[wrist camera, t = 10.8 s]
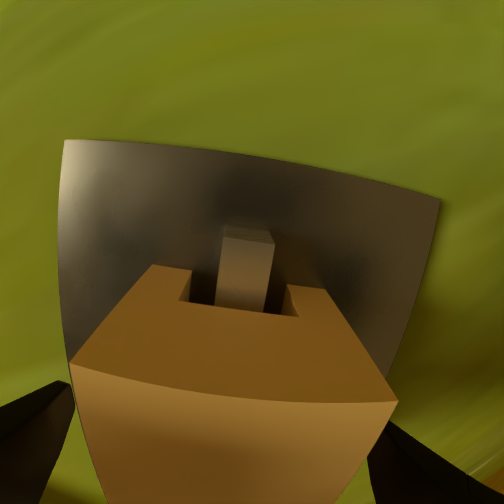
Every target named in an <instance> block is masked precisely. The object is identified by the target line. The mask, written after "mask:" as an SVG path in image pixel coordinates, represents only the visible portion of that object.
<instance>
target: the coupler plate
mask: <svg viewBox="0 0 504 504" xmlns="http://www.w3.org/2000/svg"><path fill="white" fill-rule="evenodd" d="M440 200H441V199H438V198H435V197H432V196H428V195H425V194H421V193H418V192H415V191H411V190H407V189H404V188H400V187H397V186H393V185H389V184H385V183H381V182H377V181H373V180H369V179H365V178H361V177H357V176H353V175H348V174H344V173H340V172H335V171H330V170H326V169H321V168H316V167H311V166H306V165H301V164H296V163H291V162H285V161H280V160H274V159H268V158H262V157H256V156H250V155H243V154H236V153H229V152H222V151H215V150H207V149H198V148H190V147H180V146H171V145H160V144H148V143H135V142H119V141H98V140H65V143H64V150H63V159H62V168H61V178H60V190H59V207H58V277H59V294H60V306H61V317H62V326H63V334H64V342H65V348H66V355H67V361H68V367H69V372H70V378H71V383H72V388H73V392H74V387H73V382H72V377H71V371H70V365H69V362H70V361H71V360H72V359H73V357H74V356H75V355H76V354H77V352H78V351H79V350H80V349H81V347H82V346H83V345H84V344H85V342H86V341H87V340H88V339H89V337H90V336H91V335H92V334H93V333H94V331H95V330H96V329H97V328H98V326H99V325H100V324H101V323H102V322H103V320H104V319H105V318H106V317H107V316H108V315H109V313H110V312H111V311H112V310H113V309H114V307H115V306H116V305H117V304H118V303H119V302H120V300H121V299H122V298H123V297H124V296H125V295H126V294H127V292H128V291H129V290H130V289H131V288H132V287H133V286H134V284H135V283H136V282H137V281H138V280H139V279H140V278H141V277H142V275H143V274H144V273H145V272H146V271H147V270H148V269H149V268H150V266H151V265H152V264H154V265H160V266H166V267H172V268H179V269H185V270H191V271H192V275H191V284H190V294H189V302H190V303H196V304H203V305H209V306H216V307H223V308H230V309H237V310H244V311H252V312H260V313H268V314H276V315H280V314H281V309H282V305H283V300H284V295H285V291H286V286H287V284H288V285H296V286H303V287H311V288H319V289H325V290H326V291H327V293H328V294H329V296H330V297H331V299H332V300H333V302H334V303H335V304H336V306H337V307H338V309H339V310H340V312H341V313H342V315H343V316H344V318H345V319H346V321H347V322H348V324H349V325H350V327H351V328H352V330H353V331H354V333H355V334H356V336H357V337H358V339H359V340H360V342H361V343H362V345H363V346H364V348H365V349H366V351H367V352H368V354H369V355H370V357H371V358H372V360H373V362H374V363H375V365H376V366H377V368H378V369H379V371H380V372H381V374H382V375H383V377H384V379H386V377H387V375H388V372H389V370H390V368H391V365H392V363H393V361H394V358H395V356H396V353H397V351H398V348H399V345H400V343H401V340H402V337H403V335H404V332H405V329H406V327H407V324H408V321H409V318H410V315H411V312H412V309H413V306H414V303H415V300H416V297H417V294H418V290H419V287H420V284H421V280H422V277H423V273H424V270H425V266H426V262H427V259H428V255H429V251H430V247H431V243H432V238H433V234H434V230H435V225H436V220H437V216H438V211H439V205H440ZM74 397H75V392H74ZM75 401H76V397H75ZM76 406H77V401H76ZM77 410H78V406H77ZM78 414H79V410H78ZM79 418H80V414H79ZM80 422H81V418H80ZM81 425H82V422H81ZM82 429H83V426H82ZM83 433H84V430H83ZM84 436H85V433H84ZM85 440H86V437H85ZM86 443H87V440H86ZM87 446H88V444H87ZM88 449H89V447H88ZM89 453H90V450H89ZM90 456H91V454H90ZM91 459H92V457H91ZM92 462H93V460H92ZM93 465H94V463H93ZM94 468H95V466H94ZM95 470H96V469H95ZM96 473H97V472H96ZM97 476H98V475H97ZM98 479H99V477H98ZM99 481H100V480H99ZM100 484H101V483H100ZM101 487H102V486H101ZM102 489H103V488H102ZM103 492H104V491H103ZM104 494H105V493H104ZM105 497H106V496H105ZM106 499H107V498H106ZM107 502H108V501H107ZM108 504H109V503H108Z"/></svg>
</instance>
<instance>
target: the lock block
mask: <svg viewBox="0 0 504 504" xmlns="http://www.w3.org/2000/svg"><path fill="white" fill-rule="evenodd" d="M191 275H192V271H191V270H185V269H179V268H172V267H166V266H160V265H154V264H152V265H151V266H150V268H149V269H148V270H147V271H146V272H145V273H144V274H143V275H142V277H141V278H140V279H139V280H138V281H137V282H136V283H135V284H134V286H133V287H132V288H131V289H130V290H129V291H128V292H127V294H126V295H125V296H124V297H123V298H122V299H121V300H120V302H119V303H118V304H117V305H116V306H115V307H114V309H113V310H112V311H111V312H110V313H109V315H108V316H107V317H106V318H105V319H104V320H103V322H102V323H101V324H100V325H99V326H98V328H97V329H96V330H95V331H94V333H93V334H92V335H91V336H90V337H89V339H88V340H87V341H86V342H85V344H84V345H83V346H82V347H81V349H80V350H79V351H78V352H77V354H76V355H75V356H74V357H73V359H72V360H71V361H70V362H69V365H70V371H71V377H72V382H73V387H74V392H75V397H76V401H77V406H78V410H79V414H80V418H81V422H82V426H83V430H84V433H85V437H86V440H87V444H88V447H89V450H90V454H91V457H92V460H93V463H94V466H95V469H96V472H97V475H98V477H99V480H100V483H101V486H102V488H103V491H104V493H105V496H106V498H107V501H108V503H109V504H334V503H335V502H336V500H337V499H338V498H339V496H340V495H341V494H342V492H343V491H344V490H345V488H346V487H347V485H348V484H349V483H350V481H351V480H352V478H353V477H354V475H355V474H356V472H357V471H358V469H359V468H360V466H361V465H362V463H363V462H364V460H365V459H366V457H367V456H368V454H369V452H370V451H371V449H372V448H373V446H374V444H375V443H376V441H377V439H378V438H379V436H380V434H381V432H382V431H383V429H384V427H385V425H386V424H387V422H388V420H389V418H390V416H391V415H392V413H393V411H394V409H395V407H396V405H397V403H398V399H397V397H396V396H395V394H394V393H393V391H392V390H391V388H390V386H389V385H388V383H387V382H386V380H385V379H384V377H383V375H382V374H381V372H380V371H379V369H378V368H377V366H376V365H375V363H374V362H373V360H372V358H371V357H370V355H369V354H368V352H367V351H366V349H365V348H364V346H363V345H362V343H361V342H360V340H359V339H358V337H357V336H356V334H355V333H354V331H353V330H352V328H351V327H350V325H349V324H348V322H347V321H346V319H345V318H344V316H343V315H342V313H341V312H340V310H339V309H338V307H337V306H336V304H335V303H334V302H333V300H332V299H331V297H330V296H329V294H328V293H327V291H326V290H325V289H319V288H311V287H303V286H296V285H288V284H287V286H286V291H285V295H284V300H283V305H282V309H281V314H280V315H276V314H268V313H260V312H252V311H244V310H237V309H230V308H223V307H216V306H209V305H203V304H196V303H190V302H189V294H190V284H191Z"/></svg>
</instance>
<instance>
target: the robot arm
mask: <svg viewBox="0 0 504 504" xmlns="http://www.w3.org/2000/svg"><path fill="white" fill-rule="evenodd" d="M74 411H75V401H74V397H73V392H72V388H71V385H70V384H68V383H66V382H63V381H59V380H57V381H55V382H53V383H51V384H48V385H46V386H44V387H42V388H40V389H38V390H36V391H34V392H32V393H29V394H27V395H25V396H23V397H21V398H19V399H17V400H14V401H12V402H10V403H8V404H6V405H4V406H1V407H0V504H39V501H40V499H41V496H42V494H43V491H44V489H45V487H46V484H47V482H48V480H49V477H50V475H51V473H52V470H53V468H54V466H55V464H56V461H57V459H58V457H59V455H60V452H61V450H62V447H63V444H64V441H65V438H66V435H67V432H68V429H69V426H70V423H71V420H72V417H73V414H74ZM367 461H368V468H369V475H370V481H371V486H372V490H373V493H374V497H375V501H376V504H504V495H503V494H501V493H499V492H497V491H495V490H493V489H491V488H489V487H487V486H485V485H484V484H482V483H480V482H479V481H477V480H475V479H474V478H472V477H471V476H469V475H466V473H465V472H463V471H462V470H460V469H458V468H457V467H455V466H454V465H452V464H451V463H449V462H448V461H446V460H445V459H444V458H442V457H441V456H439V455H438V454H436V453H435V452H433V451H432V450H430V449H429V448H428V447H426V446H425V445H423V444H422V443H420V442H419V441H417V440H416V439H415V438H413V437H412V436H410V435H409V434H408V433H406V432H405V431H403V430H402V429H401V428H399V427H398V426H396V425H395V424H394V423H392V422H391V421H389V420H388V422H387V424H386V425H385V427H384V429H383V431H382V432H381V434H380V436H379V438H378V439H377V441H376V443H375V444H374V446H373V448H372V449H371V451H370V452H369V454H368V456H367Z"/></svg>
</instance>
